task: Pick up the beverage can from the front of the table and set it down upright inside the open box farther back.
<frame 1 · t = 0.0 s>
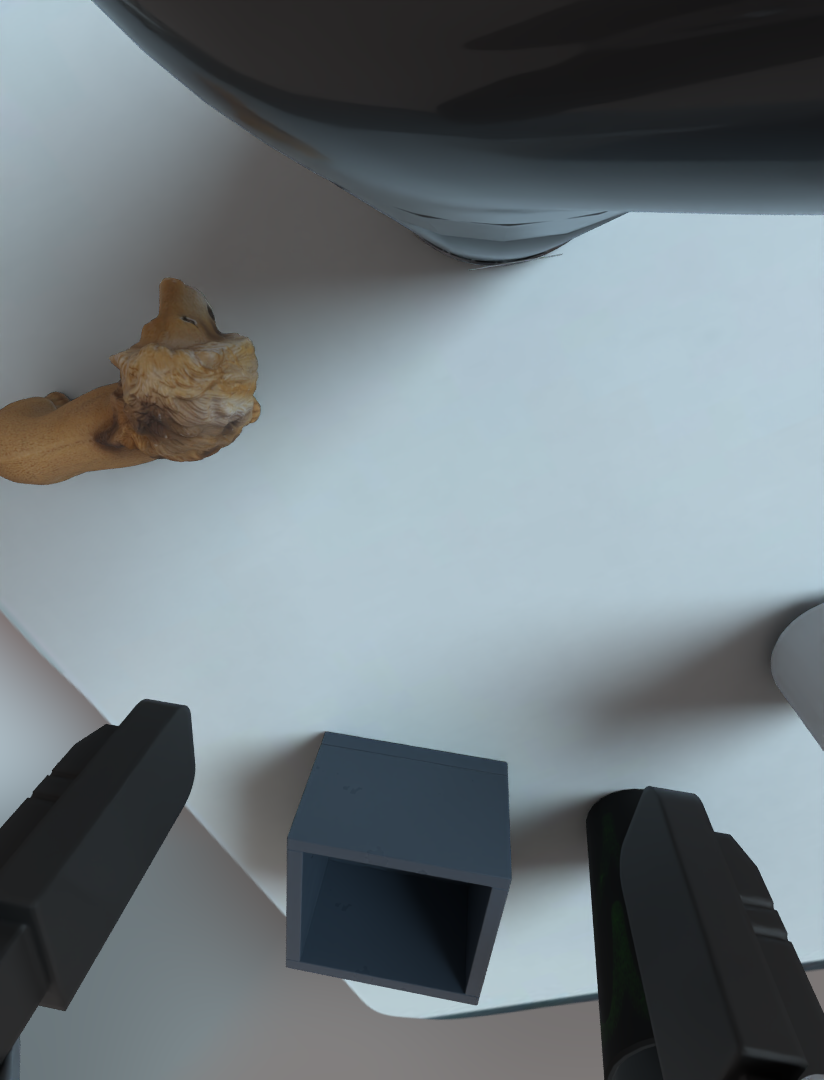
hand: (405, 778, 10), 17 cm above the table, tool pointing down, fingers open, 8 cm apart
cup: (634, 821, 33), on the table
open box: (406, 810, 35), on the table
lion figurine: (174, 388, 26), on the table
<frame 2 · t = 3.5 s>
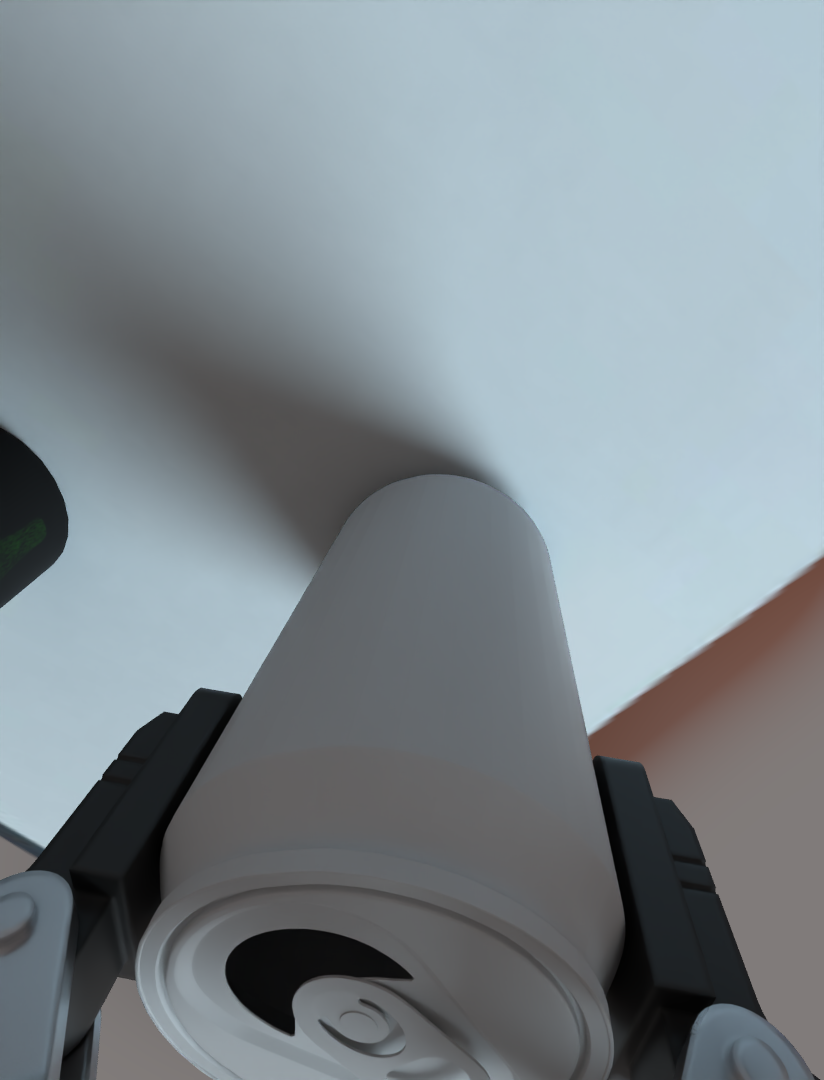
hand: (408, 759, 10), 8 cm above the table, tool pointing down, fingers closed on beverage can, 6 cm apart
beverage can: (443, 562, 17), on the table, touching gripper
when the fingers open (9 cm above the table, at t = 12.0 s): beverage can stays where it is, resting on open box.
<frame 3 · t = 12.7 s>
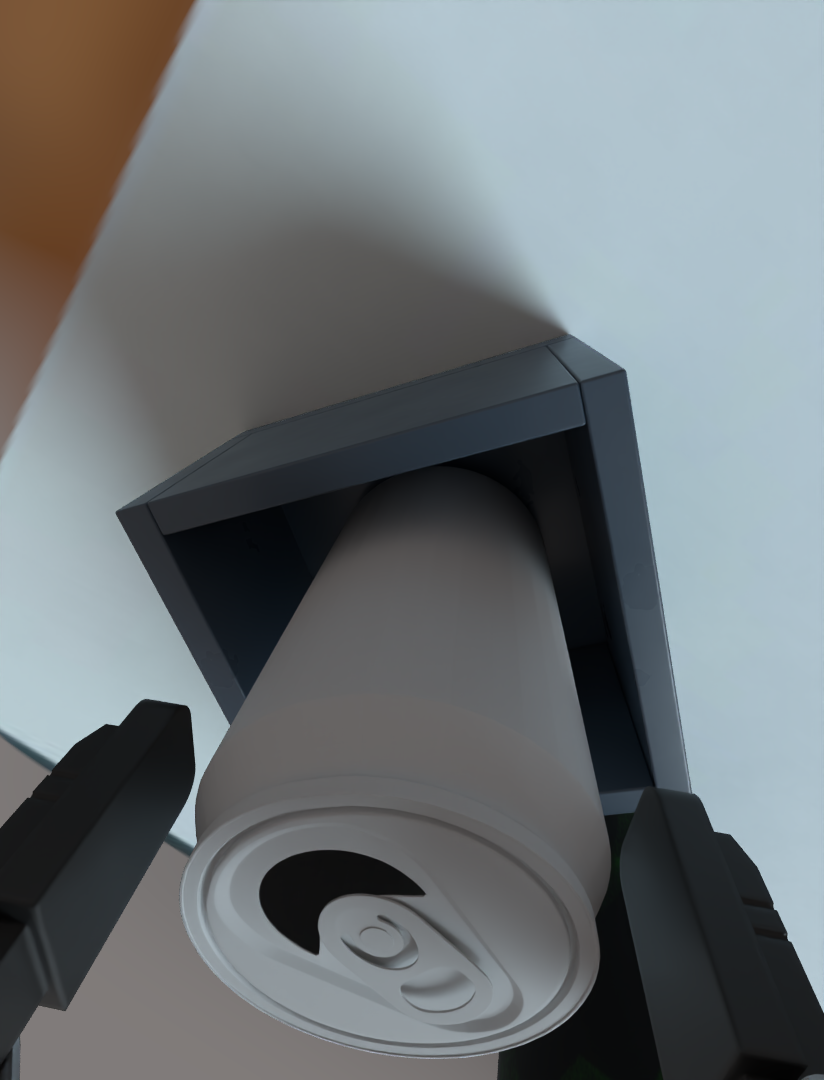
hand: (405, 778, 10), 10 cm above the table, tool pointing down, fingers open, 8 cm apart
beverage can: (443, 551, 18), point 1 cm above the table, touching open box
cup: (580, 805, 24), on the table
open box: (442, 540, 19), on the table
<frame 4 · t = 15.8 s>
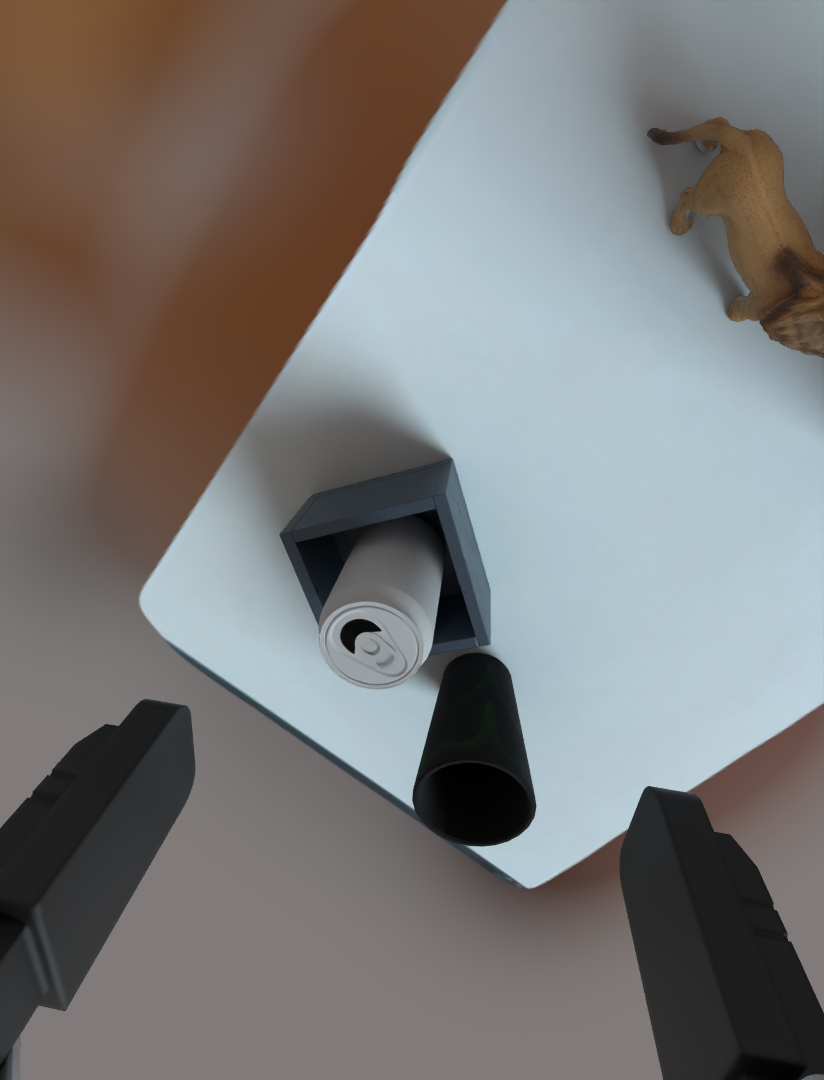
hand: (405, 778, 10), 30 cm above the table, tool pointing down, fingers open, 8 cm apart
beverage can: (402, 548, 41), point 1 cm above the table, touching open box
cup: (477, 679, 46), on the table
open box: (402, 543, 42), on the table
lion figurine: (740, 242, 31), on the table
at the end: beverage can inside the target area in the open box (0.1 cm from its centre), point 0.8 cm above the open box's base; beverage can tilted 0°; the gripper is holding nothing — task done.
